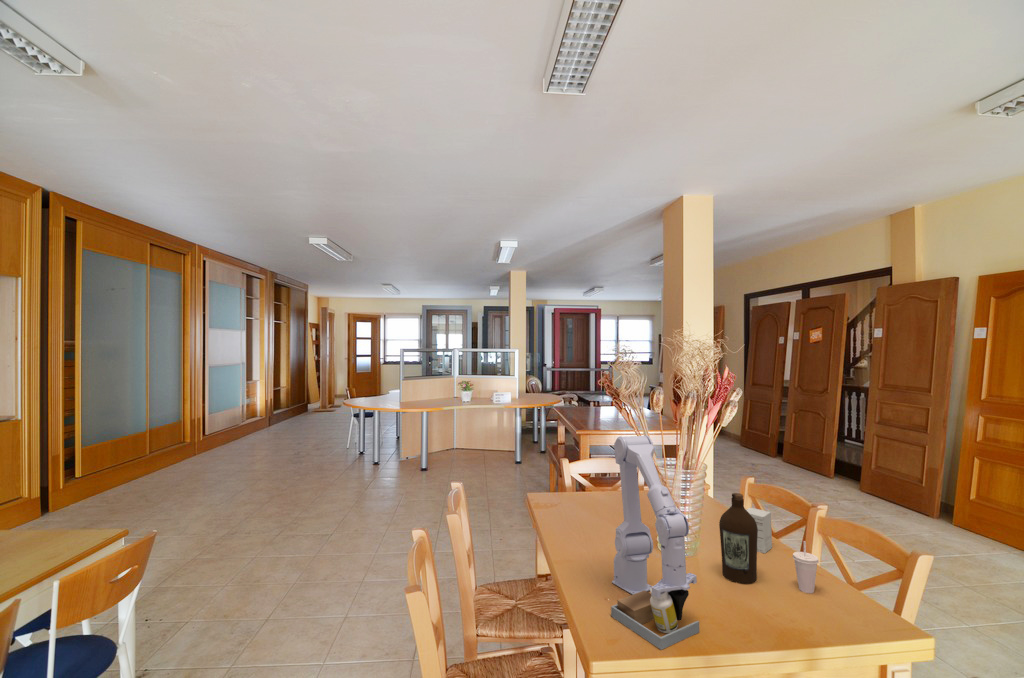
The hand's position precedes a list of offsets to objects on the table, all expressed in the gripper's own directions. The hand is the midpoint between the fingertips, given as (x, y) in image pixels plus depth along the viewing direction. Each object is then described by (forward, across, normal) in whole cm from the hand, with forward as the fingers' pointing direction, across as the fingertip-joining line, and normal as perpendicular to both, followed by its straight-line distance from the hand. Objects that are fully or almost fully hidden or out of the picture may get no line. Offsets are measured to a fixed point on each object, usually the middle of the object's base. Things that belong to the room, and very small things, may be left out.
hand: (676, 619), depth 117 cm
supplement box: (+1, +64, +17) cm, 66 cm away
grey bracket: (+2, -4, +4) cm, 6 cm away
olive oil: (+2, +38, +8) cm, 39 cm away
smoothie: (+2, +47, -7) cm, 48 cm away
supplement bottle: (+2, -2, +1) cm, 3 cm away
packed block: (+2, -4, +8) cm, 9 cm away
